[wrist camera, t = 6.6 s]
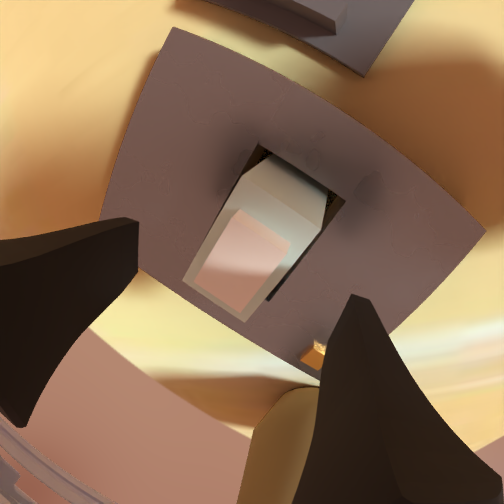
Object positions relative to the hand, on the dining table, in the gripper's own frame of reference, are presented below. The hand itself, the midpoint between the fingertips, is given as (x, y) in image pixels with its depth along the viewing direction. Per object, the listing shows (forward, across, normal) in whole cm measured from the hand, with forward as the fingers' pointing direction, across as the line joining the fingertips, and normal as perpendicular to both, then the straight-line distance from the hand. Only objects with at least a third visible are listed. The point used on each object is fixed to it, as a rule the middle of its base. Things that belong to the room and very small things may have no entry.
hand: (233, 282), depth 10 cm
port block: (+7, 0, 0) cm, 7 cm away
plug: (+7, 0, 0) cm, 7 cm away
